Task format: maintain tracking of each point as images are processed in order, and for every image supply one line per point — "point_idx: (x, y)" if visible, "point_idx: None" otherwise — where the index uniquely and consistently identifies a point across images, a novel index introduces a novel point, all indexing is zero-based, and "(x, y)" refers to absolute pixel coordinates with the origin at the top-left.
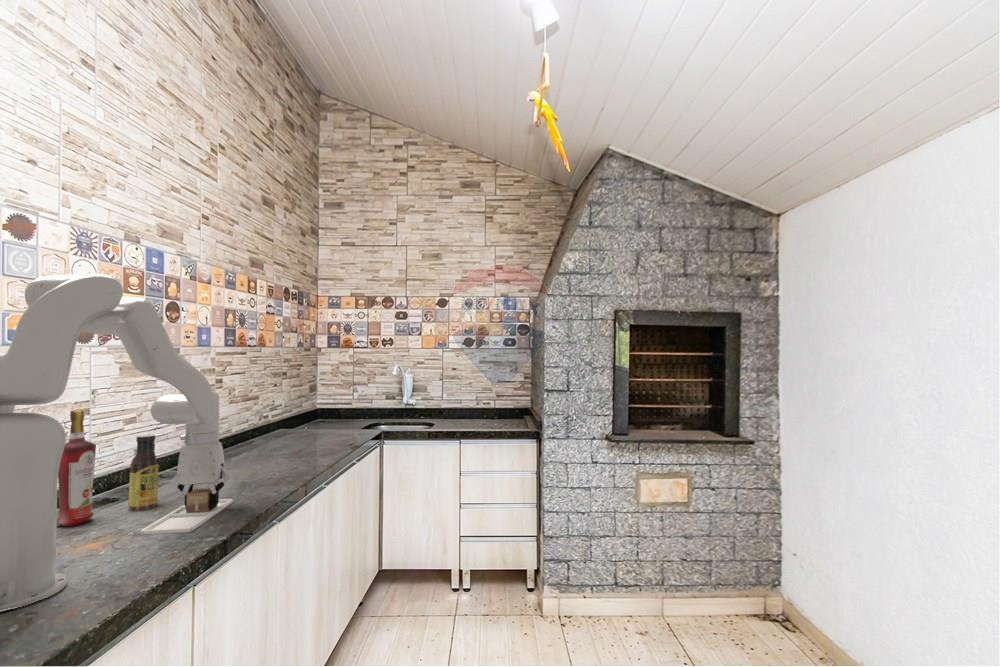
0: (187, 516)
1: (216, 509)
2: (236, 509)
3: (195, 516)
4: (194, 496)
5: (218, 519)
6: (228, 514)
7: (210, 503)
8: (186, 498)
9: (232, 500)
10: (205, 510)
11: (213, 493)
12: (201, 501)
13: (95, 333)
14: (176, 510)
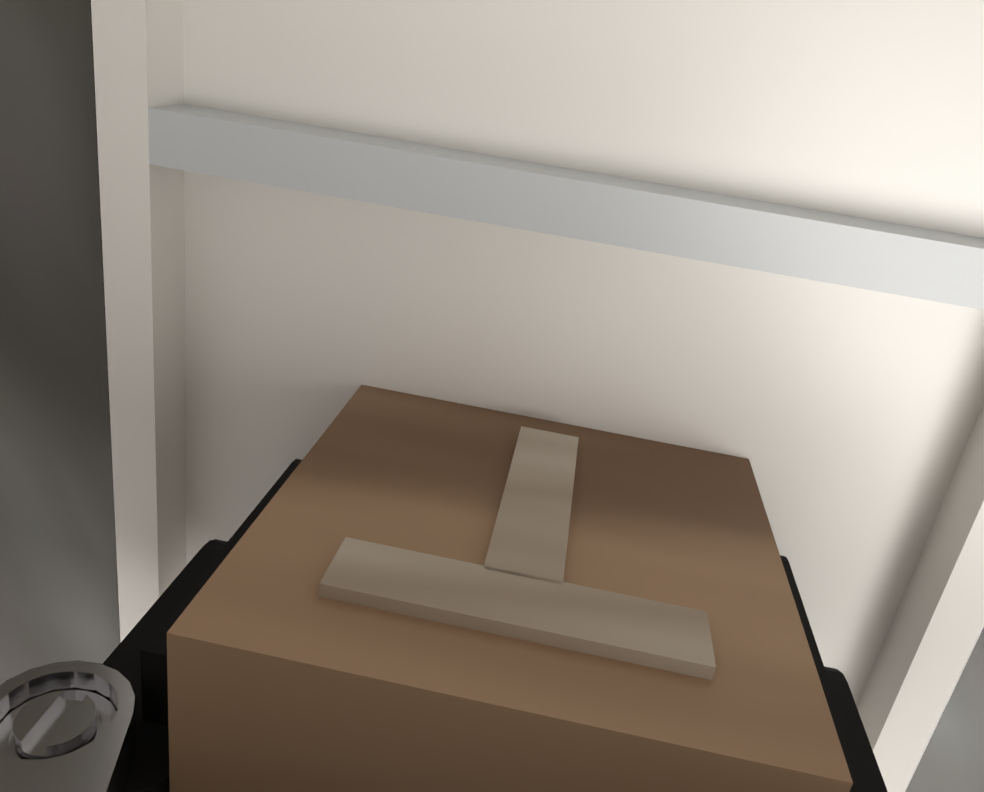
0: (655, 180)
1: (139, 322)
2: (25, 520)
3: (491, 159)
4: (580, 638)
5: (66, 42)
6: (26, 298)
7: None
8: None
9: None
10: (381, 407)
11: (91, 669)
12: (413, 514)
13: None
14: (971, 542)
